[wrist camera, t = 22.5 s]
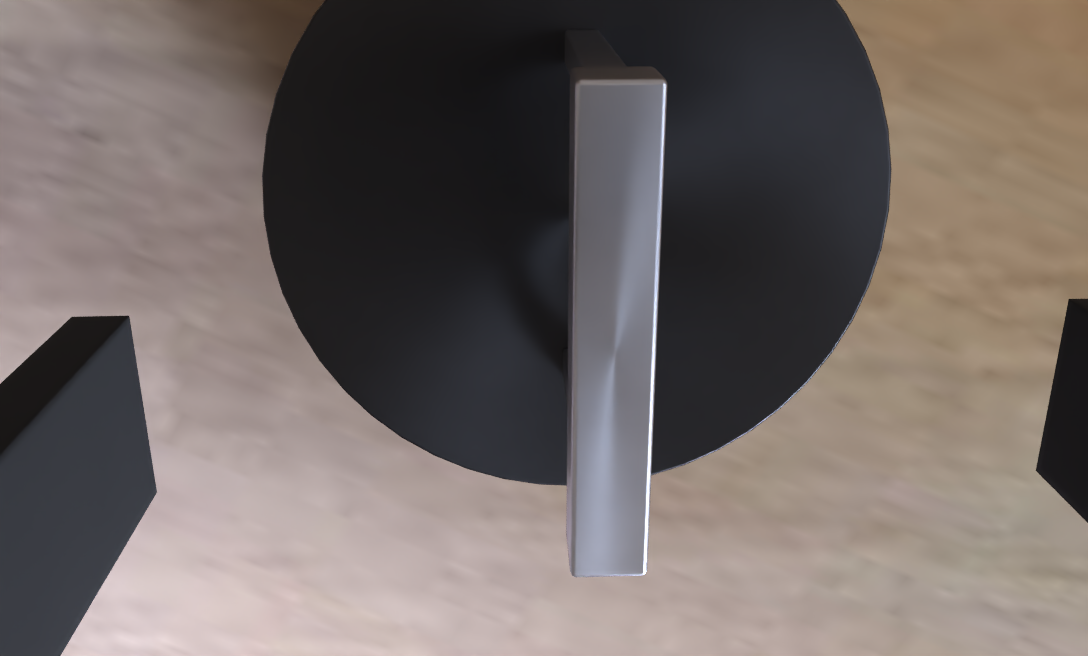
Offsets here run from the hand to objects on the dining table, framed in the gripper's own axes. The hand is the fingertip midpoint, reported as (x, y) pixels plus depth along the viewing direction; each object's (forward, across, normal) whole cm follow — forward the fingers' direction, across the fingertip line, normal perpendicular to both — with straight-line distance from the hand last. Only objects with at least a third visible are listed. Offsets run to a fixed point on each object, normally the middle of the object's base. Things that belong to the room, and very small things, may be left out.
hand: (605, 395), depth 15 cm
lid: (+9, 0, 0) cm, 9 cm away
